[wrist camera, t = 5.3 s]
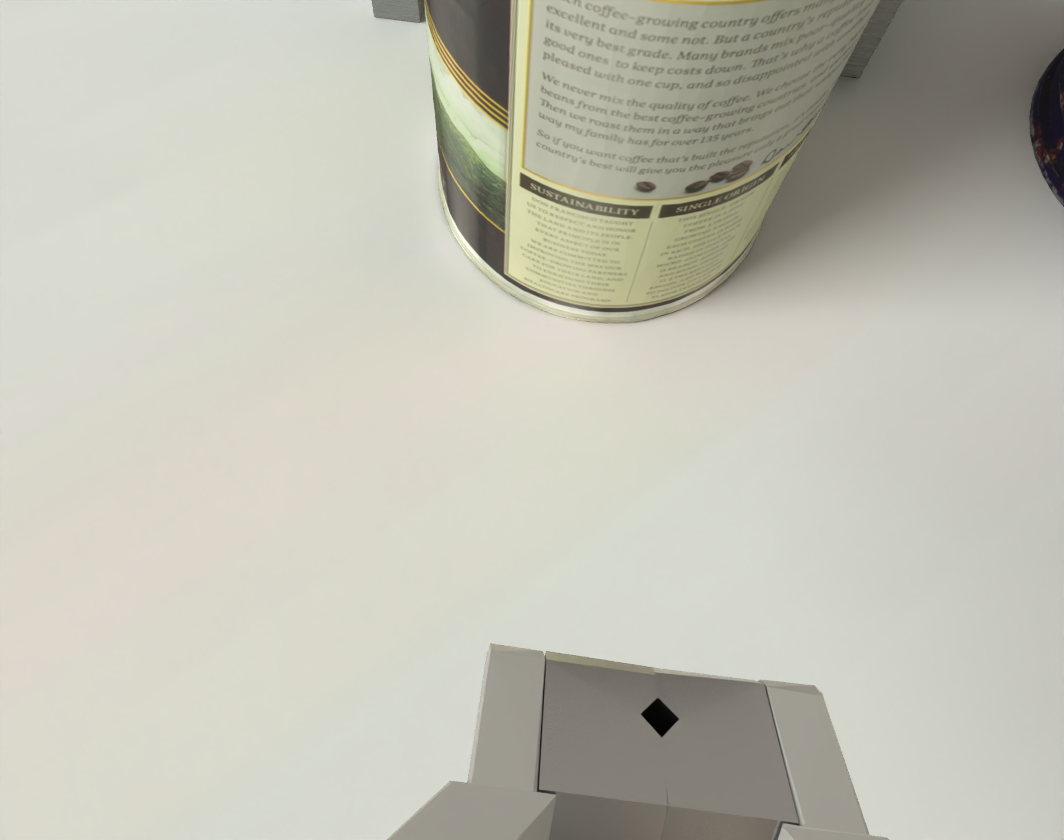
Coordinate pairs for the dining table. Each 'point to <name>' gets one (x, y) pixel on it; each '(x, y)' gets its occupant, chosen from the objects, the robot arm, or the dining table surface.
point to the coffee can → (624, 138)
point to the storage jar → (1050, 125)
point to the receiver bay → (408, 3)
